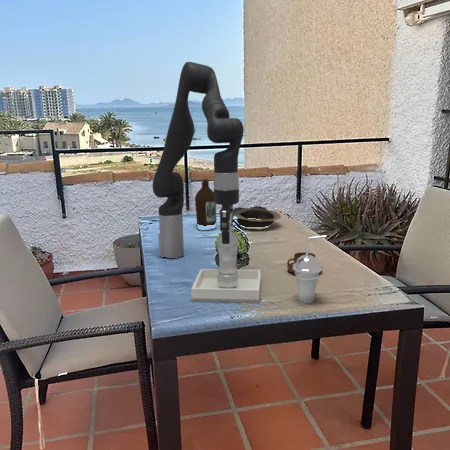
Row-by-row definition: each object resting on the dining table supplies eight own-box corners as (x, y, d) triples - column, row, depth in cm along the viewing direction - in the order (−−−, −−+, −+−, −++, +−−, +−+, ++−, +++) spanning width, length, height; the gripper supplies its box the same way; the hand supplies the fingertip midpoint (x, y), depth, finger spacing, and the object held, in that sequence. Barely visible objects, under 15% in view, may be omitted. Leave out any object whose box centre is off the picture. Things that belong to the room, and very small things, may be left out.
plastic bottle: (216, 284, 138) (215, 223, 134) (237, 283, 139) (237, 222, 135) (217, 291, 132) (216, 227, 128) (239, 290, 132) (239, 226, 128)
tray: (191, 301, 128) (191, 288, 127) (201, 280, 145) (200, 268, 144) (259, 303, 126) (259, 290, 125) (260, 281, 143) (260, 269, 142)
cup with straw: (300, 292, 133) (302, 229, 128) (327, 299, 127) (330, 233, 123) (286, 301, 127) (287, 235, 122) (313, 308, 121) (315, 240, 116)
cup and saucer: (301, 280, 144) (301, 262, 142) (280, 270, 154) (280, 253, 153) (329, 274, 149) (329, 257, 148) (307, 264, 159) (307, 248, 158)
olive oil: (191, 229, 217) (189, 179, 211) (207, 225, 224) (206, 177, 218) (205, 232, 209) (204, 181, 203) (221, 228, 216) (220, 179, 211)
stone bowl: (234, 220, 232) (235, 204, 230) (280, 224, 229) (281, 208, 227) (228, 231, 209) (229, 212, 207) (279, 235, 206) (281, 217, 204)
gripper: (216, 184, 135) (217, 234, 139) (210, 190, 121) (211, 246, 125) (240, 183, 134) (241, 234, 138) (237, 190, 121) (237, 246, 124)
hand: (227, 239), depth 132 cm, fingers open, 8 cm apart
